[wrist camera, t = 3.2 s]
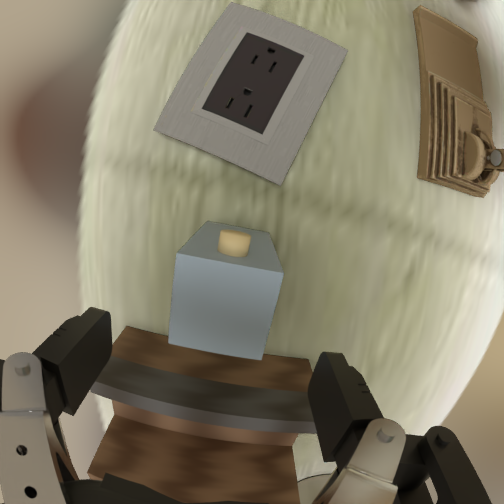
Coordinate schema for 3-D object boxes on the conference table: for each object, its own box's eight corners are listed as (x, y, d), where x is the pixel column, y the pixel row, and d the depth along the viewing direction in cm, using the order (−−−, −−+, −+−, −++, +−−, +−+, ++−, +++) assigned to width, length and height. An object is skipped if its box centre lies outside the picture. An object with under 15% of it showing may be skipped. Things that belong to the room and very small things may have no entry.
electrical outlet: (232, 13, 18) (231, 0, 16) (340, 59, 19) (349, 48, 17) (161, 133, 21) (152, 129, 18) (277, 185, 22) (281, 186, 20)
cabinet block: (271, 220, 22) (288, 252, 13) (256, 289, 24) (261, 360, 14) (209, 208, 22) (179, 231, 12) (198, 278, 23) (168, 343, 14)
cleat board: (308, 359, 26) (340, 467, 13) (282, 423, 28) (294, 516, 16) (126, 326, 25) (61, 417, 12) (130, 396, 27) (92, 481, 14)
